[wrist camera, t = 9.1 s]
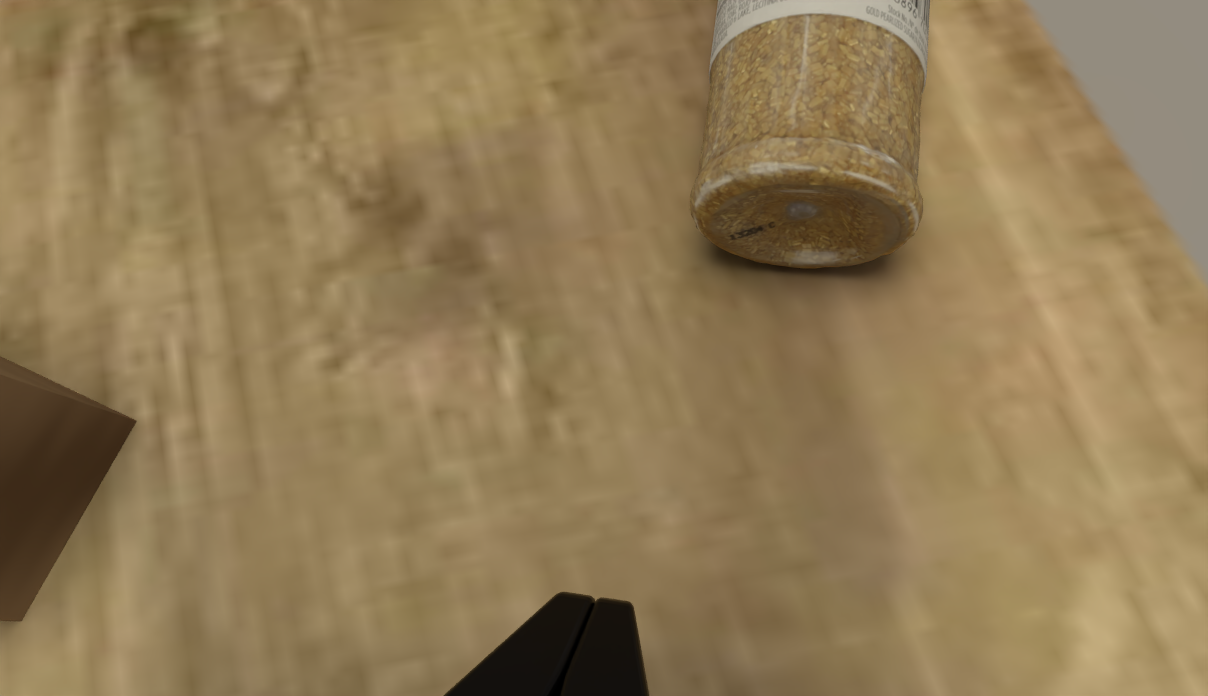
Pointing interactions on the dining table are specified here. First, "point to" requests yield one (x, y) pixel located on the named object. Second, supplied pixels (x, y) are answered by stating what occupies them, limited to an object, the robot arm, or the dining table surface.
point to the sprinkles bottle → (813, 130)
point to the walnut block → (46, 475)
